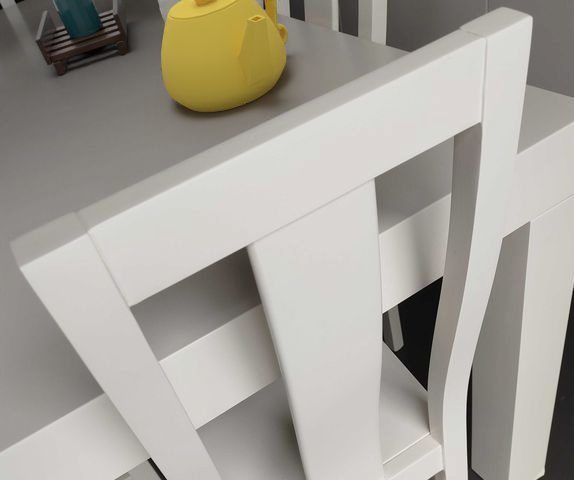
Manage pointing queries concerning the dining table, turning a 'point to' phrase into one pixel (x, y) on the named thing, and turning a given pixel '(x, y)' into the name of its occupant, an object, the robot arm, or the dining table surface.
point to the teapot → (221, 52)
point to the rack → (61, 46)
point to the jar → (166, 7)
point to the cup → (78, 17)
